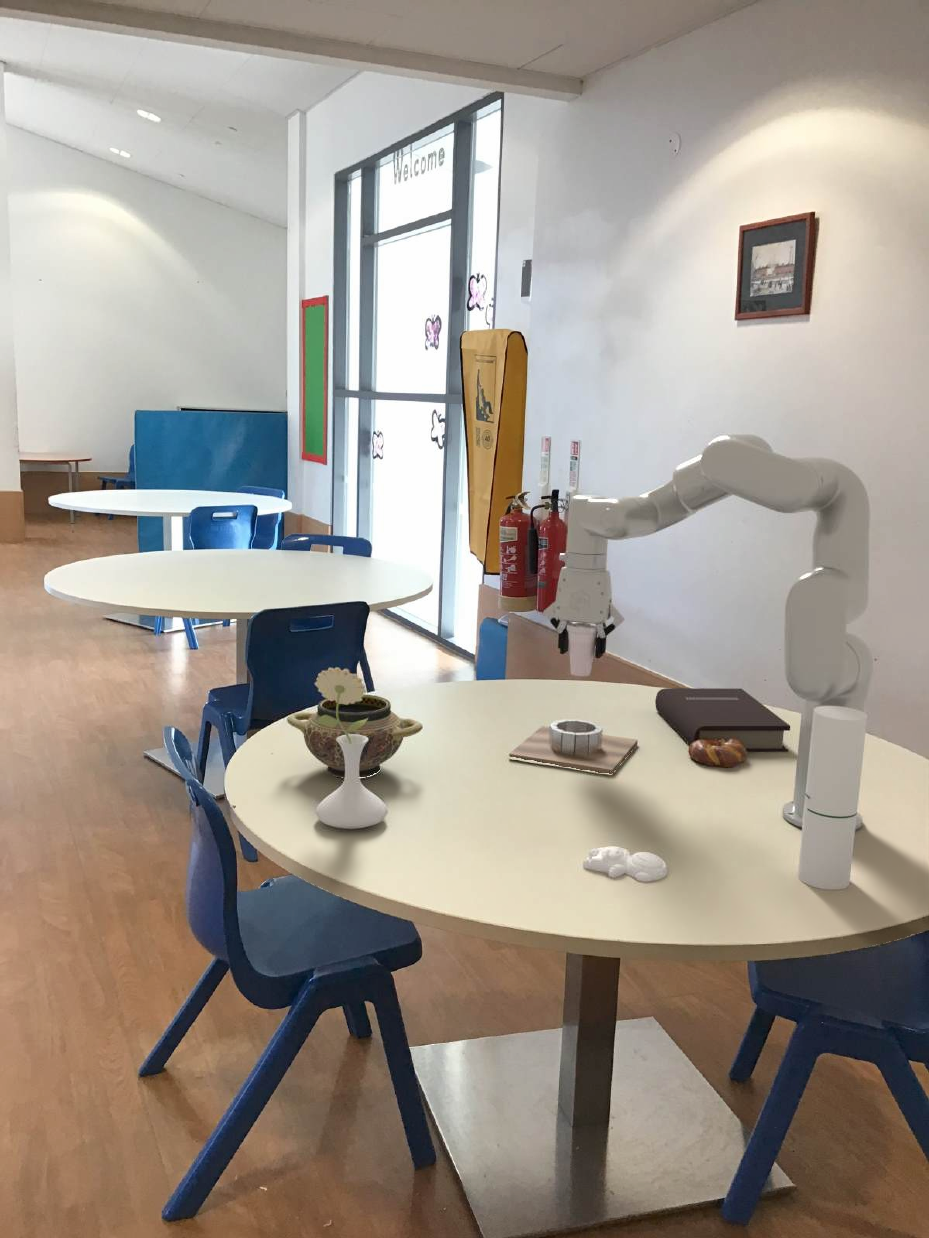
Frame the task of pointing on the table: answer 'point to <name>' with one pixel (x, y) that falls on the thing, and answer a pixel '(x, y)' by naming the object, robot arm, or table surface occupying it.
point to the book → (722, 717)
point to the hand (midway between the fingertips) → (581, 653)
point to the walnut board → (599, 762)
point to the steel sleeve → (575, 737)
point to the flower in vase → (347, 759)
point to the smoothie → (581, 647)
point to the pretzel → (717, 752)
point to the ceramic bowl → (379, 730)
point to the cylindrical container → (832, 796)
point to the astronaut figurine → (626, 863)
